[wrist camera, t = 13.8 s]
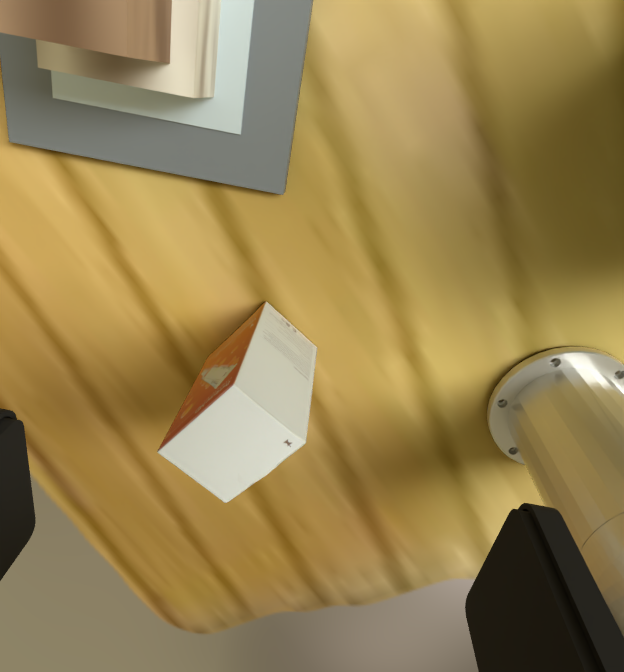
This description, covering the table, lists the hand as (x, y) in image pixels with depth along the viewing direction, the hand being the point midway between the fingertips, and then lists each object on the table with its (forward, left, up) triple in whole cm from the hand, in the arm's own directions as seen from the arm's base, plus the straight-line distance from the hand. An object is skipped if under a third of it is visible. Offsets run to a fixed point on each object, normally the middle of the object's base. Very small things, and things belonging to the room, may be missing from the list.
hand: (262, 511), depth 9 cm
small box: (+3, +14, -31) cm, 34 cm away
